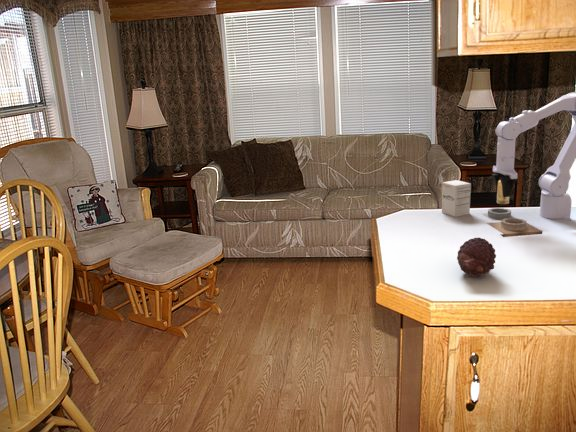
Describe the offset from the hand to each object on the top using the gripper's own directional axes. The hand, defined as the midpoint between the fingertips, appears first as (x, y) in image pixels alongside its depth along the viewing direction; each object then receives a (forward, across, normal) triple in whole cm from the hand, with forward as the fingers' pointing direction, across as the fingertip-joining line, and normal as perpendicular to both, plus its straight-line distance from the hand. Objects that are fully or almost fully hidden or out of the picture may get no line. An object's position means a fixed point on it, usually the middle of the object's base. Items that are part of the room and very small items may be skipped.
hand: (503, 195), depth 193 cm
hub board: (+9, +11, -1) cm, 14 cm away
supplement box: (+10, -11, -13) cm, 19 cm away
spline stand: (+9, -3, 0) cm, 10 cm away
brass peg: (+3, 0, 0) cm, 3 cm away
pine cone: (+10, +45, -29) cm, 55 cm away
